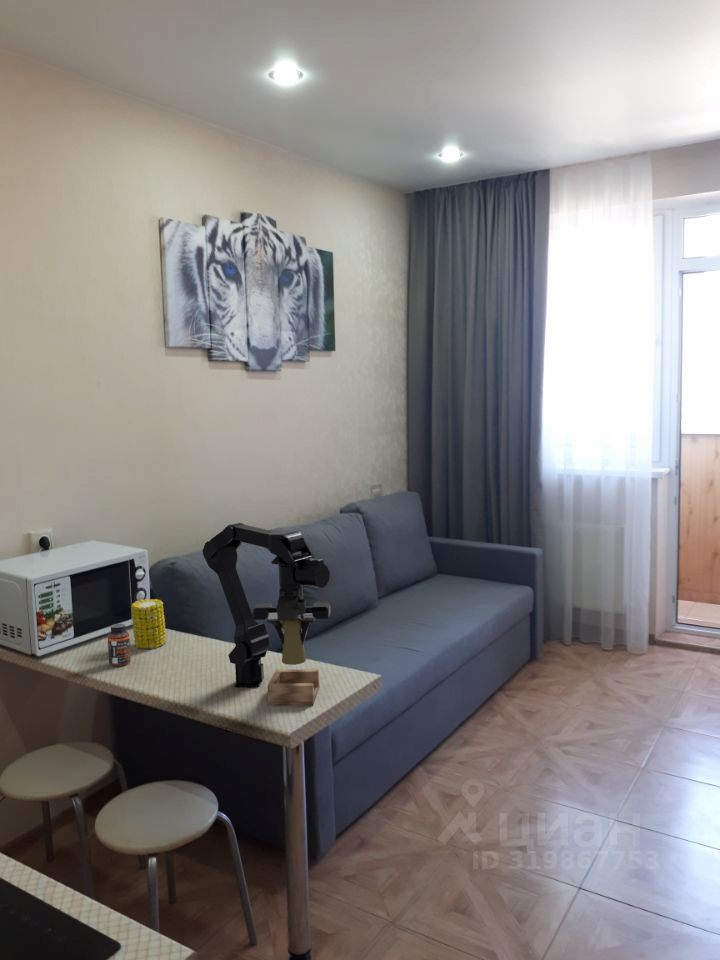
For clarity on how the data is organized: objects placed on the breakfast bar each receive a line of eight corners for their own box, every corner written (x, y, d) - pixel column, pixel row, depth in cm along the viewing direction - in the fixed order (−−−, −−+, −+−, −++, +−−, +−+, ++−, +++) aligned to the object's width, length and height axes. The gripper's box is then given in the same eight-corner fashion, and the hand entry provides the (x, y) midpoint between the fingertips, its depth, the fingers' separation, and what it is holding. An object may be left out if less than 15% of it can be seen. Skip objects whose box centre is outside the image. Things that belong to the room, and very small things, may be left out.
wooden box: (267, 705, 180) (266, 686, 179) (277, 687, 192) (276, 668, 191) (313, 705, 179) (312, 686, 179) (319, 686, 191) (318, 668, 190)
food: (168, 644, 235) (158, 657, 225) (132, 637, 235) (120, 649, 225) (176, 599, 232) (166, 609, 222) (139, 591, 232) (127, 601, 223)
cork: (310, 658, 186) (309, 615, 185) (297, 666, 181) (295, 621, 180) (290, 655, 189) (289, 612, 188) (276, 662, 184) (274, 619, 183)
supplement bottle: (118, 668, 209) (115, 629, 208) (104, 665, 213) (102, 626, 212) (135, 662, 214) (132, 624, 213) (121, 659, 218) (119, 621, 217)
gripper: (246, 591, 176) (249, 656, 177) (325, 590, 174) (327, 655, 176) (255, 580, 187) (258, 641, 188) (329, 579, 186) (331, 640, 187)
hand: (293, 644), depth 185 cm, fingers closed on cork, 4 cm apart
